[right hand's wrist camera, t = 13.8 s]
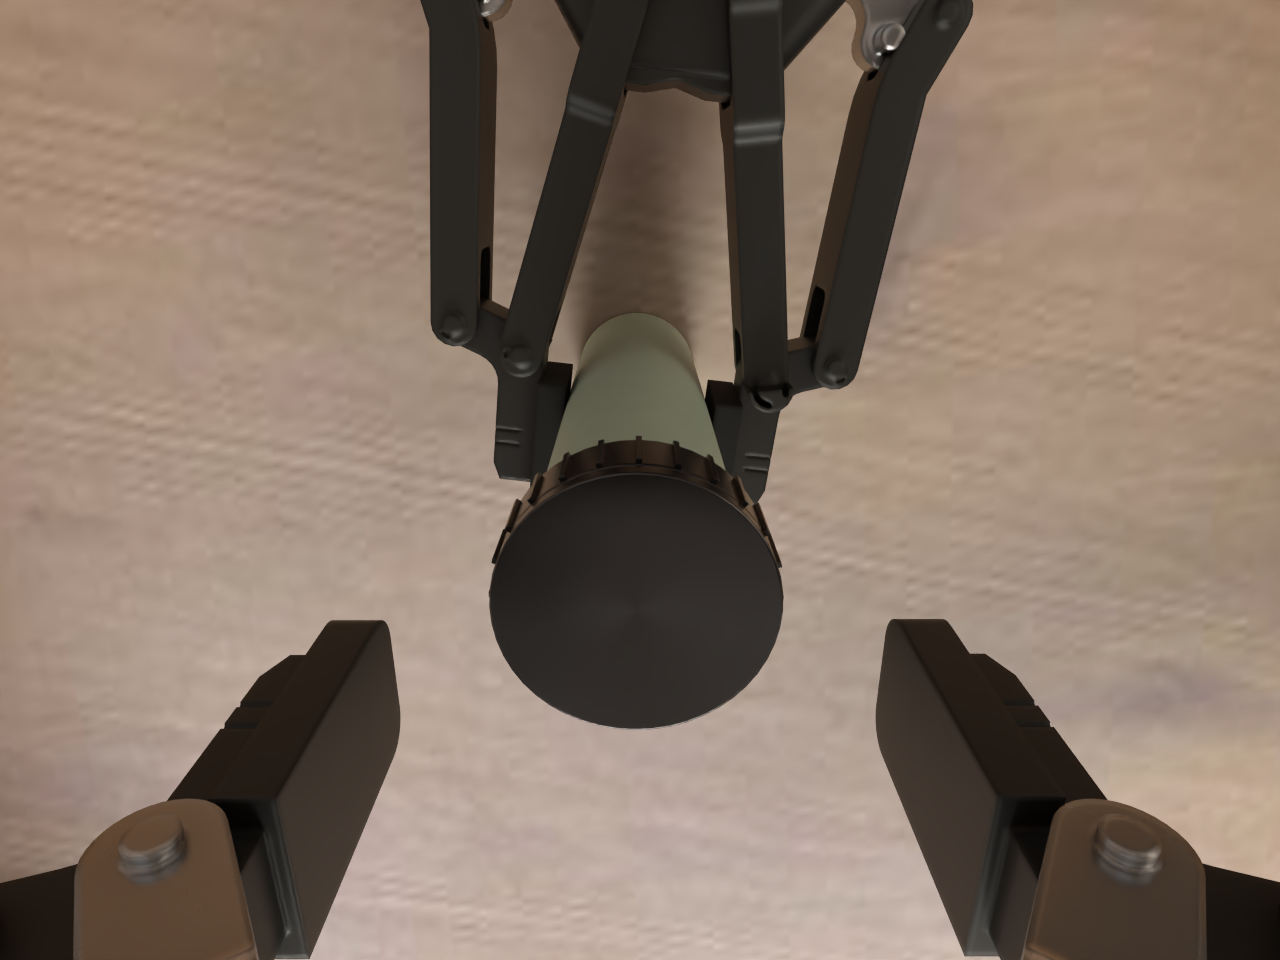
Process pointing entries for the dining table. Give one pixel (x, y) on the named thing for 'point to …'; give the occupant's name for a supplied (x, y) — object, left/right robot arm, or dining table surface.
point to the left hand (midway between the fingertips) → (617, 580)
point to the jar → (636, 390)
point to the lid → (636, 586)
